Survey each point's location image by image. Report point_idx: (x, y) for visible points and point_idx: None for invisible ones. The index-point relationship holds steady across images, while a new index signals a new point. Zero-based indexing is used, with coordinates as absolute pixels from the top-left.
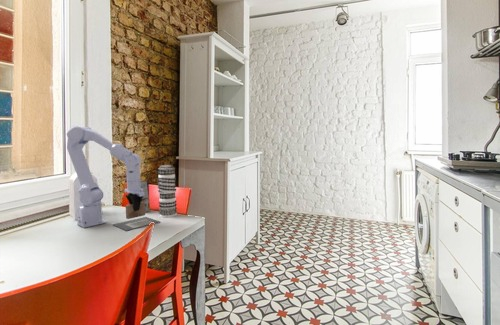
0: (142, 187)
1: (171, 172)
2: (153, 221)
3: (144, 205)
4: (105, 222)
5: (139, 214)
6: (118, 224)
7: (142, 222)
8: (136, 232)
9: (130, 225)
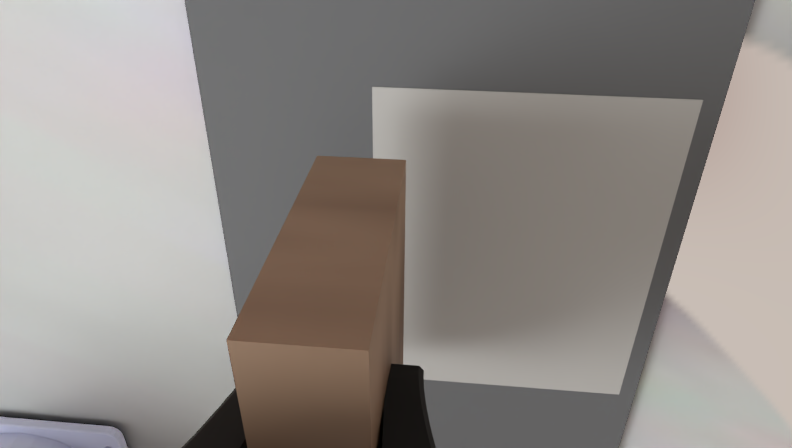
0: None
1: None
2: (615, 73)
3: (379, 288)
4: (119, 434)
5: (401, 283)
6: None
7: (495, 215)
8: (768, 427)
9: (482, 365)
